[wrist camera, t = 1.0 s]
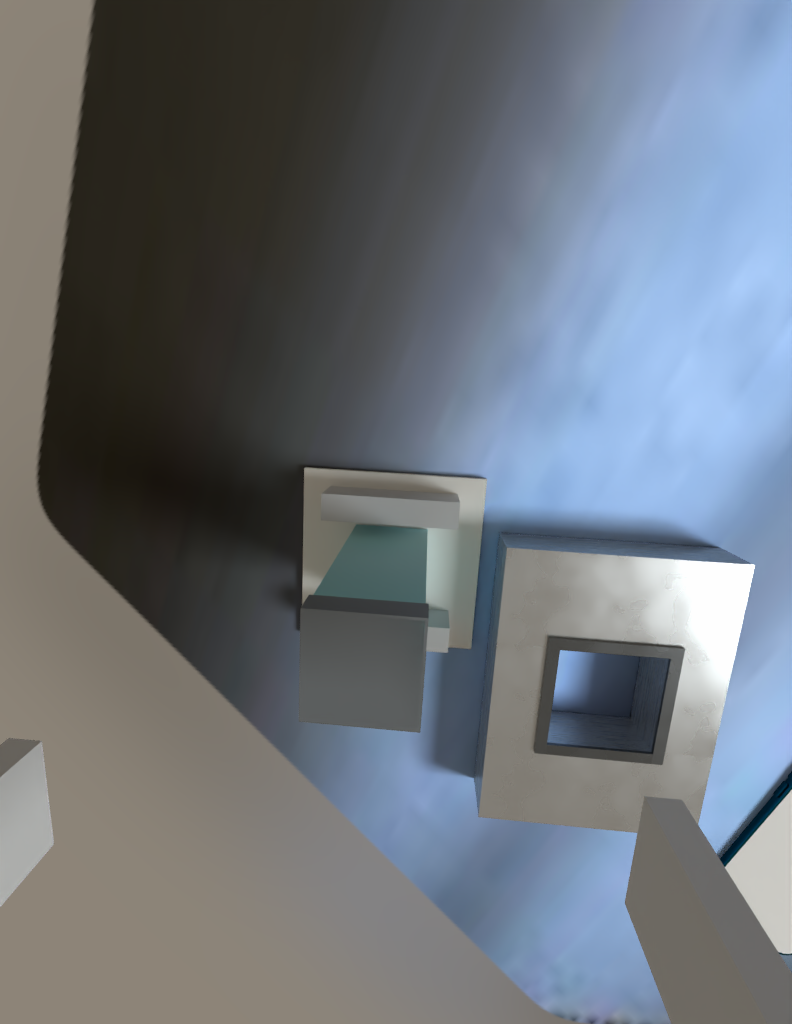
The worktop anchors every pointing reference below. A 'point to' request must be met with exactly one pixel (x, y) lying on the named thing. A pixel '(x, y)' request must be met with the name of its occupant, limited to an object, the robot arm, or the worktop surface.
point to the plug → (367, 633)
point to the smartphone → (767, 866)
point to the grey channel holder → (406, 504)
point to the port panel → (611, 630)
